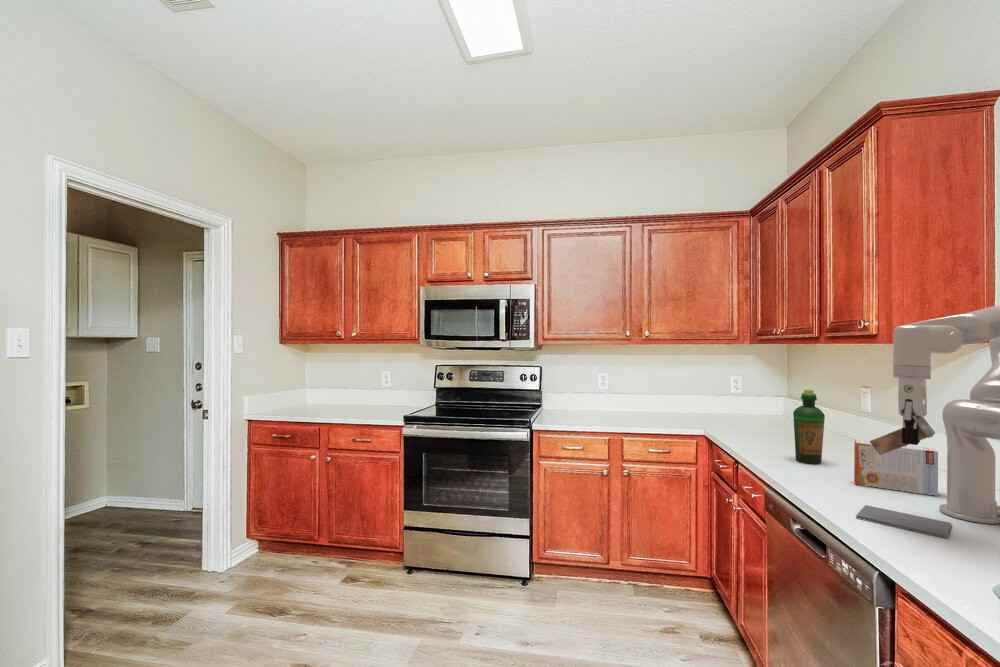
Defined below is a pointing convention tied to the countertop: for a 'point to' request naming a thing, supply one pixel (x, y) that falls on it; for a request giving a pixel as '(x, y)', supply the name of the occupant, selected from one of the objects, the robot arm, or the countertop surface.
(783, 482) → the countertop surface
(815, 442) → the bottle
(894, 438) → the tan boxy piece
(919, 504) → the countertop surface
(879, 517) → the mat
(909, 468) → the cracker box
